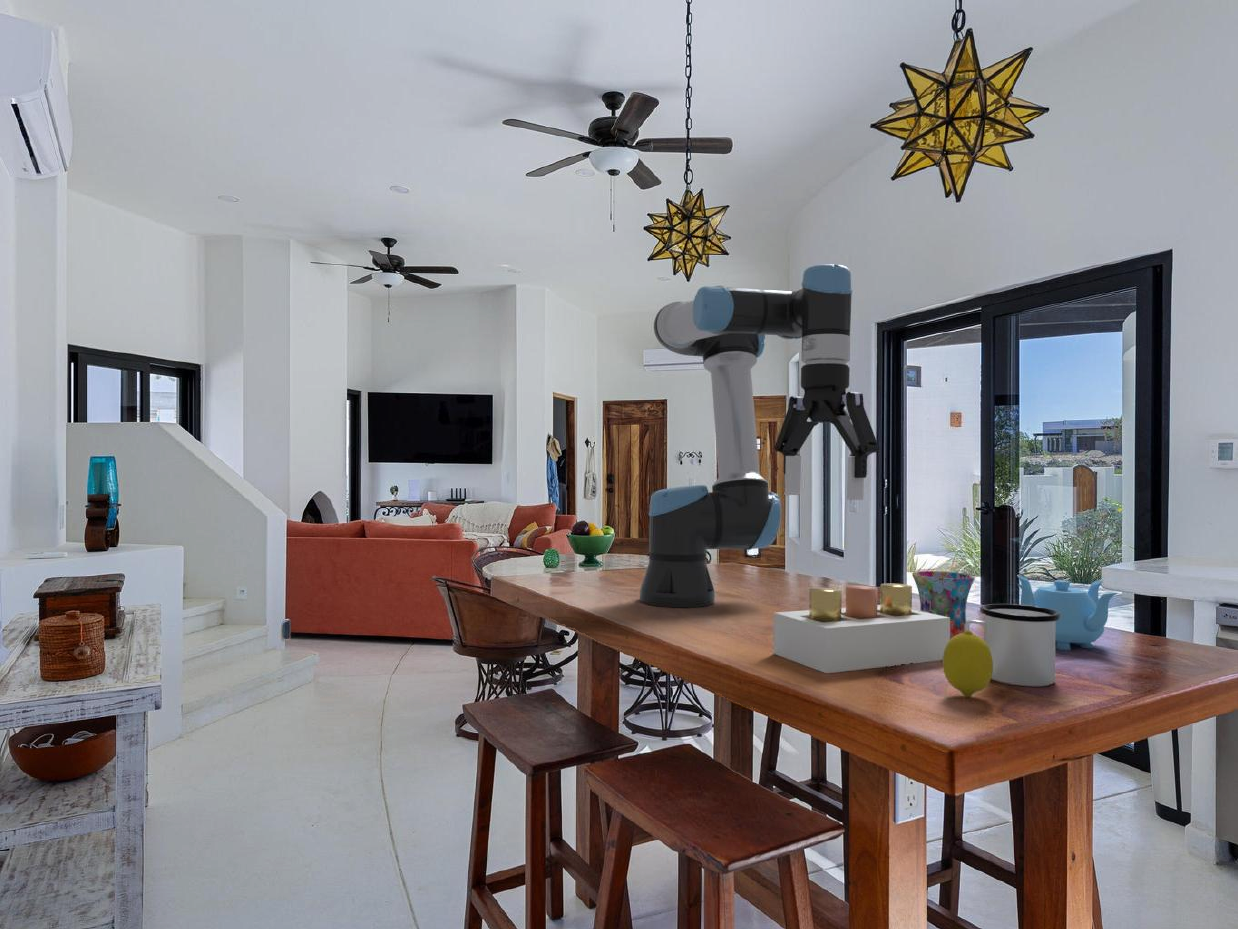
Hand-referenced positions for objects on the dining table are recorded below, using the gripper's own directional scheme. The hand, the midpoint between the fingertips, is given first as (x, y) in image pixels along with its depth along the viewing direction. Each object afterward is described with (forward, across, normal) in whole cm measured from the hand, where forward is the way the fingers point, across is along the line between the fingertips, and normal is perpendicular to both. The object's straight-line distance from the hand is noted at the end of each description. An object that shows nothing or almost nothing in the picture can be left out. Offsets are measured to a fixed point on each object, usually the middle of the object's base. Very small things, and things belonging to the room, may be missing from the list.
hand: (822, 497), depth 127 cm
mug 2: (+22, +29, +6) cm, 37 cm away
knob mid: (+17, +12, -3) cm, 21 cm away
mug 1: (+23, +10, +18) cm, 31 cm away
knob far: (+17, +12, +3) cm, 22 cm away
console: (+22, +12, -3) cm, 25 cm away
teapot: (+23, +21, +32) cm, 44 cm away
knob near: (+17, +11, -10) cm, 23 cm away
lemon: (+22, +32, -8) cm, 40 cm away
